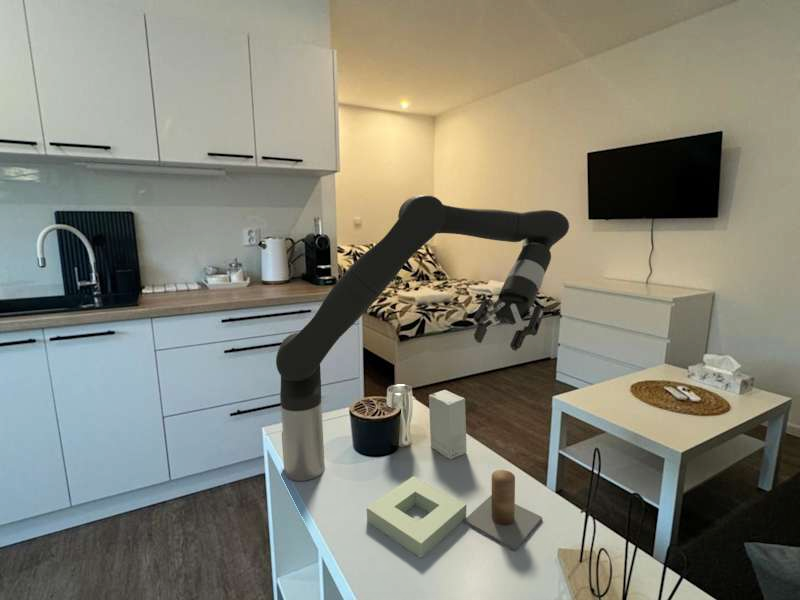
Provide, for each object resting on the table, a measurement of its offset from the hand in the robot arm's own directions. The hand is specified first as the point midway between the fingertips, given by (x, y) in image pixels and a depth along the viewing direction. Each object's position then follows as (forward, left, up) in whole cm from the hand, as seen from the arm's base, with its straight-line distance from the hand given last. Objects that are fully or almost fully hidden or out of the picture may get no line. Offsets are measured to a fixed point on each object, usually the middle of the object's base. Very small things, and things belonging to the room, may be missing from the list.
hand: (494, 344), depth 88 cm
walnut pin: (+8, -9, -32) cm, 34 cm away
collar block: (-5, -20, -33) cm, 38 cm away
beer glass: (-28, 0, -33) cm, 43 cm away
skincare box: (-16, +5, -33) cm, 37 cm away
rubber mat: (+8, -9, -33) cm, 35 cm away
